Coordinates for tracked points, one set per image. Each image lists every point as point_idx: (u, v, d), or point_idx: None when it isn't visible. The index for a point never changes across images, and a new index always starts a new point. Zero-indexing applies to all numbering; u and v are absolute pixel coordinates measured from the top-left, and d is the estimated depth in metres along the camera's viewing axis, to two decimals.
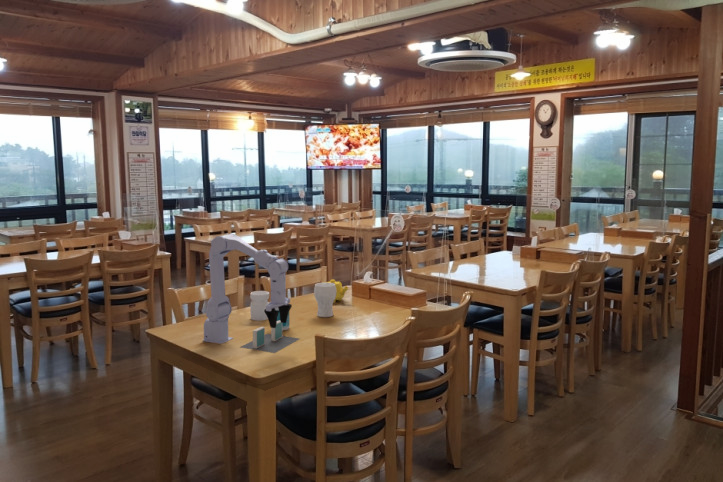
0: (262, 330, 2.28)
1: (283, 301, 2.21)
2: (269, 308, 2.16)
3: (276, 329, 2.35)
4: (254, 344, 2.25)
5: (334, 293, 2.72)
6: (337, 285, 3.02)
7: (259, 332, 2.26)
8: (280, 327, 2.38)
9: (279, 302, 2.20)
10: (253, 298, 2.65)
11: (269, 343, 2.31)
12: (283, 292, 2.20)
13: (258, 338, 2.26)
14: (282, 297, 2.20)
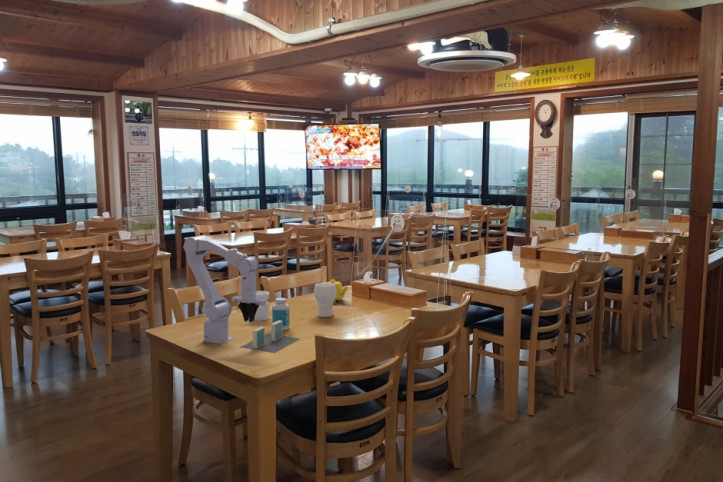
0: (262, 330, 2.28)
1: (243, 298, 2.25)
2: None
3: (276, 329, 2.35)
4: (254, 344, 2.25)
5: (334, 293, 2.72)
6: (337, 285, 3.02)
7: (259, 332, 2.26)
8: (280, 327, 2.38)
9: (241, 298, 2.27)
10: None
11: (269, 343, 2.31)
12: (243, 289, 2.25)
13: (258, 338, 2.26)
14: (242, 294, 2.25)
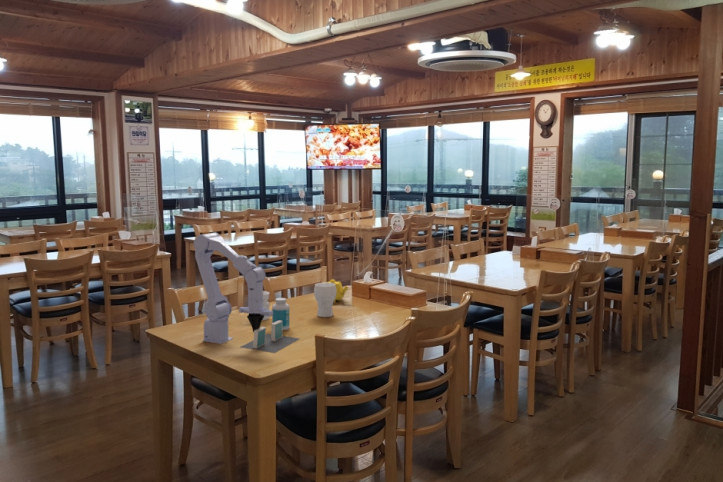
0: (263, 330, 2.28)
1: (250, 309, 2.25)
2: None
3: (276, 329, 2.35)
4: (254, 344, 2.25)
5: (334, 293, 2.72)
6: (337, 285, 3.02)
7: (260, 332, 2.26)
8: (280, 327, 2.38)
9: (248, 308, 2.26)
10: None
11: (269, 343, 2.31)
12: (250, 300, 2.24)
13: (259, 338, 2.26)
14: (249, 304, 2.25)
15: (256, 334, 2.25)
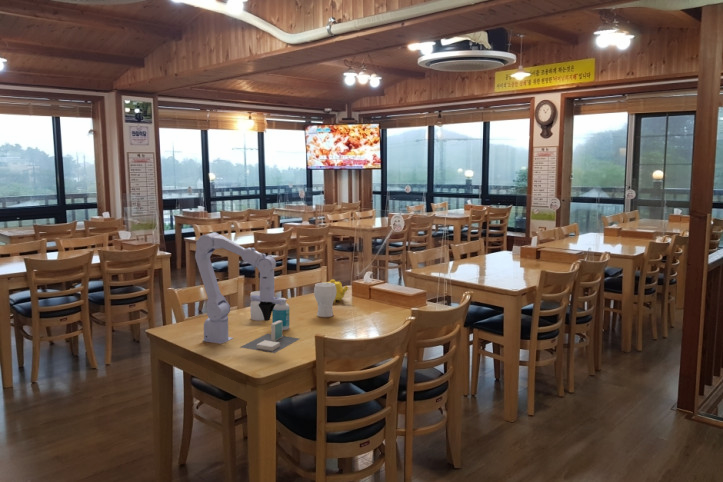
0: None
1: (261, 297, 2.27)
2: None
3: (276, 329, 2.35)
4: (259, 346, 2.25)
5: (334, 293, 2.72)
6: (337, 285, 3.02)
7: None
8: (280, 327, 2.38)
9: (259, 297, 2.29)
10: None
11: None
12: (261, 288, 2.27)
13: None
14: (260, 293, 2.28)
15: (268, 349, 2.23)
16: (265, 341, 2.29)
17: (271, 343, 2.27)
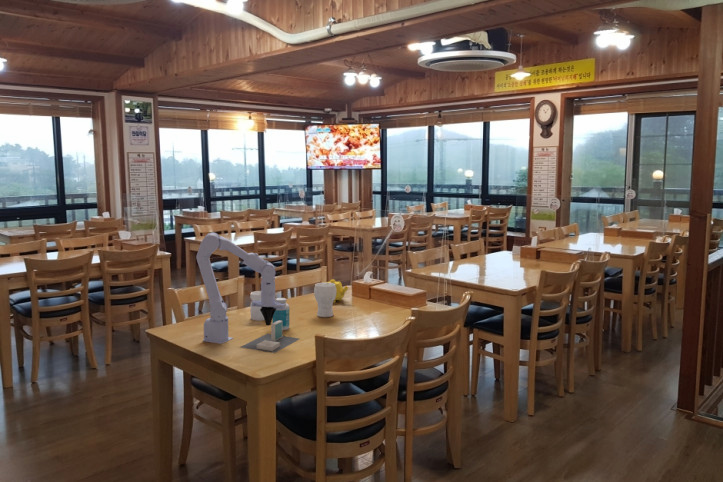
0: None
1: (263, 302, 2.35)
2: None
3: (276, 329, 2.35)
4: (259, 346, 2.25)
5: (334, 293, 2.72)
6: (337, 285, 3.02)
7: None
8: (280, 327, 2.38)
9: (261, 302, 2.36)
10: (253, 298, 2.65)
11: None
12: (263, 294, 2.34)
13: None
14: (262, 298, 2.35)
15: (268, 349, 2.23)
16: (265, 341, 2.29)
17: (271, 343, 2.27)
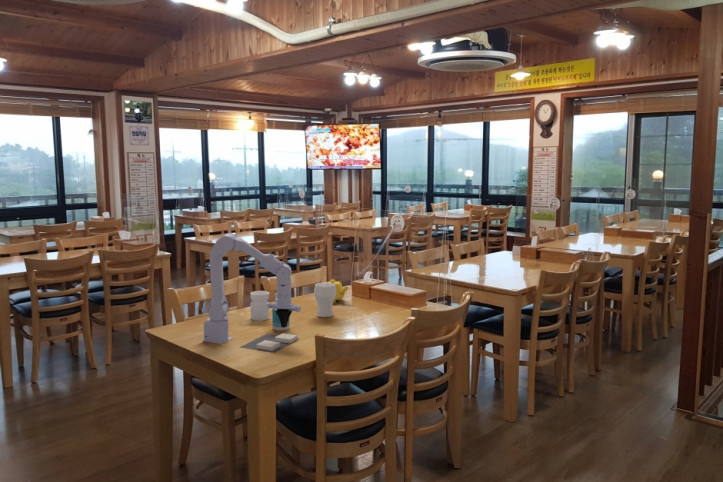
0: None
1: (279, 304, 2.32)
2: None
3: None
4: (259, 346, 2.25)
5: (334, 293, 2.72)
6: (337, 285, 3.02)
7: None
8: None
9: (277, 304, 2.33)
10: (253, 298, 2.65)
11: None
12: (279, 296, 2.32)
13: None
14: (278, 300, 2.32)
15: (268, 349, 2.23)
16: (265, 341, 2.29)
17: (271, 343, 2.27)
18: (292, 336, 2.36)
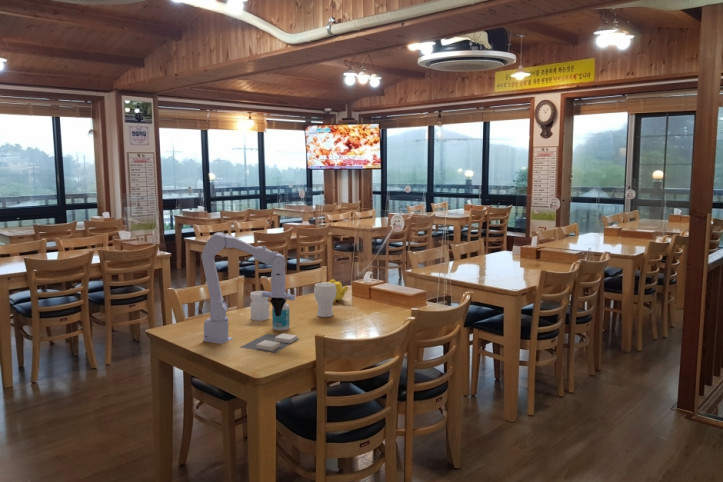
0: None
1: (273, 293, 2.35)
2: None
3: None
4: (259, 346, 2.25)
5: (334, 293, 2.72)
6: (337, 285, 3.02)
7: None
8: None
9: (271, 293, 2.36)
10: (253, 298, 2.65)
11: None
12: (273, 285, 2.34)
13: None
14: (272, 289, 2.35)
15: (268, 349, 2.23)
16: (265, 341, 2.29)
17: (271, 343, 2.27)
18: (292, 336, 2.36)
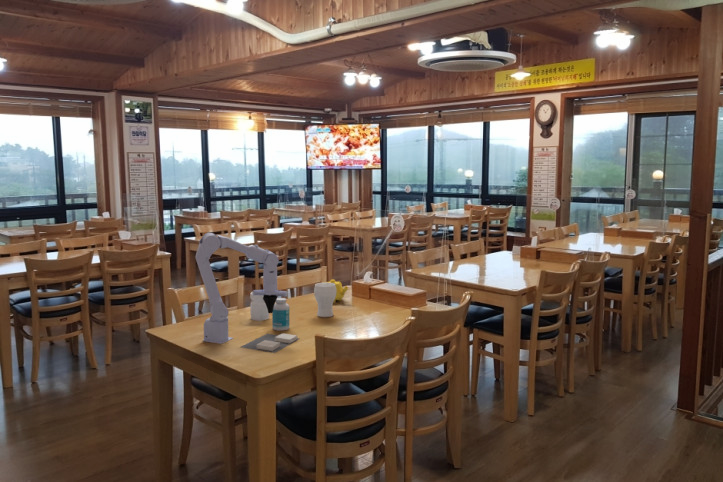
0: None
1: (266, 291, 2.38)
2: (253, 292, 2.42)
3: None
4: (259, 346, 2.25)
5: (334, 293, 2.72)
6: (337, 285, 3.02)
7: None
8: None
9: (264, 290, 2.39)
10: (253, 298, 2.65)
11: None
12: (266, 282, 2.38)
13: None
14: (265, 287, 2.38)
15: (268, 349, 2.23)
16: (265, 341, 2.29)
17: (271, 343, 2.27)
18: (292, 336, 2.36)
